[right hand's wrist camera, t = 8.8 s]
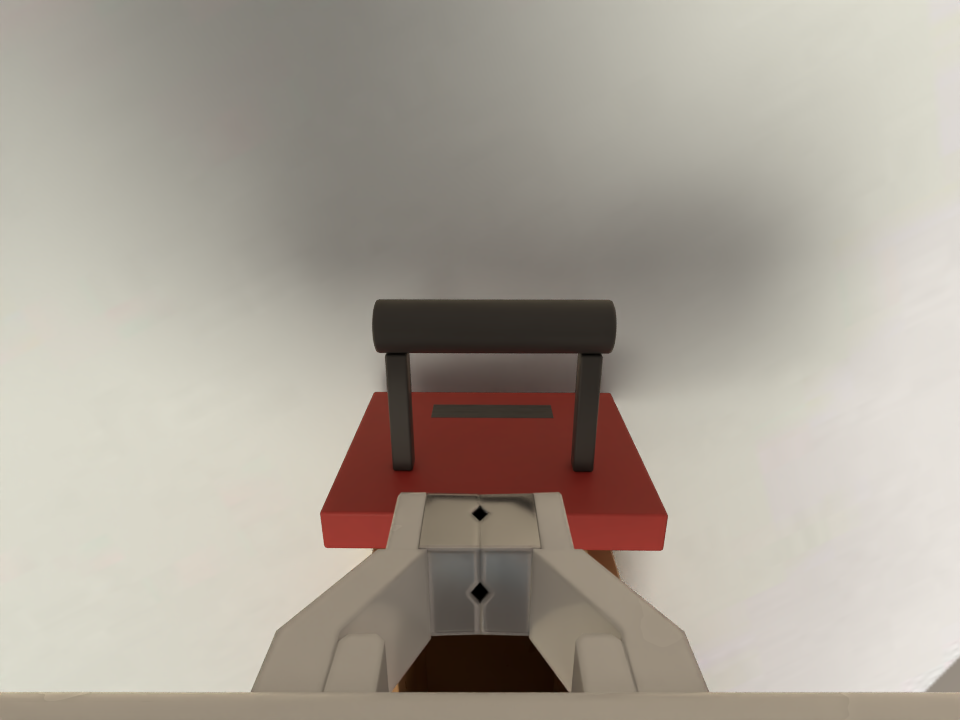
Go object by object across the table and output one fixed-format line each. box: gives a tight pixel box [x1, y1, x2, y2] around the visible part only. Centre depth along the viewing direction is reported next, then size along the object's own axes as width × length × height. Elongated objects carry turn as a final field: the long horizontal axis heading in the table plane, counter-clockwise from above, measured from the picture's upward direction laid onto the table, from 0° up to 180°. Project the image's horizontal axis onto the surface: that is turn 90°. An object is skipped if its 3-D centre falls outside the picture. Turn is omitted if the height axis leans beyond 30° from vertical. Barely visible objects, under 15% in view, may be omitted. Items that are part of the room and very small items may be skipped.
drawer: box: [320, 299, 668, 693], centre depth 20 cm, size 21×9×8 cm, turn 0°
